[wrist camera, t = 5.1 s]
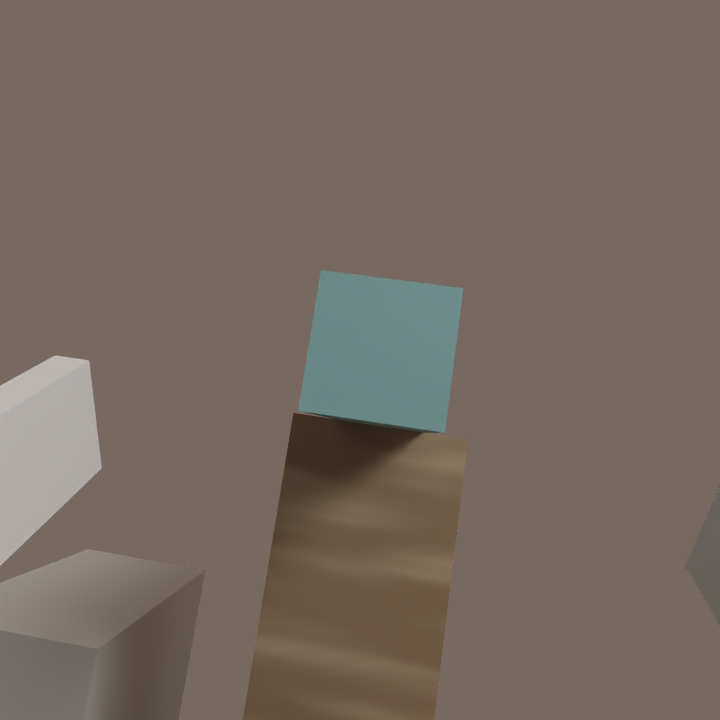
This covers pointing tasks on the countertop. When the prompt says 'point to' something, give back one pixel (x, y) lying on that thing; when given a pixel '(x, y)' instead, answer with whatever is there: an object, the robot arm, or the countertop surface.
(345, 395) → the teal block
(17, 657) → the step block
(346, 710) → the oak block
